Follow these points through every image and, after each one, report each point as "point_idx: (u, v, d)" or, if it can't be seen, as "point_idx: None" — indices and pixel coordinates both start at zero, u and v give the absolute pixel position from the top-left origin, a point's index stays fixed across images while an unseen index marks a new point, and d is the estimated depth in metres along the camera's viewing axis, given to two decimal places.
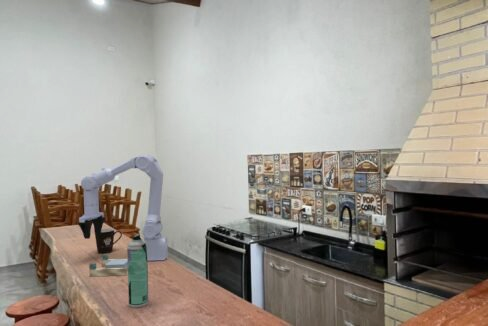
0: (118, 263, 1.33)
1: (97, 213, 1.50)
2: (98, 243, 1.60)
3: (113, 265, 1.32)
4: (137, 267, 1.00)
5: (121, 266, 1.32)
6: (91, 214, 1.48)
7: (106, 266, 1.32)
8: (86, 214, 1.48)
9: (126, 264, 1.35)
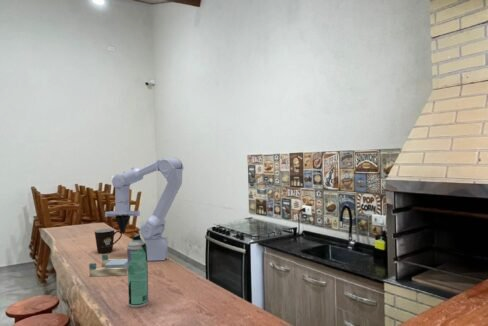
0: (118, 263, 1.33)
1: (119, 211, 1.52)
2: (98, 243, 1.60)
3: (113, 265, 1.32)
4: (137, 267, 1.00)
5: (121, 266, 1.32)
6: (115, 211, 1.53)
7: (106, 266, 1.32)
8: None
9: (126, 264, 1.34)
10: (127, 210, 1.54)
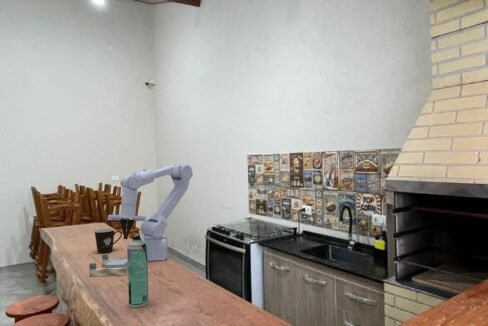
0: (118, 263, 1.33)
1: (127, 214, 1.39)
2: (98, 243, 1.60)
3: (113, 265, 1.32)
4: (137, 267, 1.00)
5: (121, 266, 1.32)
6: (121, 214, 1.40)
7: (106, 266, 1.32)
8: None
9: (126, 264, 1.34)
10: (134, 214, 1.42)
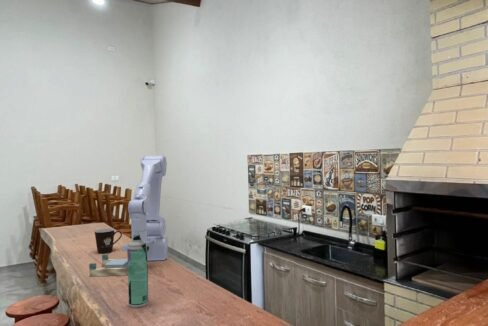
0: (118, 263, 1.33)
1: None
2: (98, 243, 1.60)
3: (113, 265, 1.32)
4: (137, 267, 1.00)
5: (120, 266, 1.32)
6: None
7: (106, 266, 1.32)
8: None
9: (126, 264, 1.34)
10: None
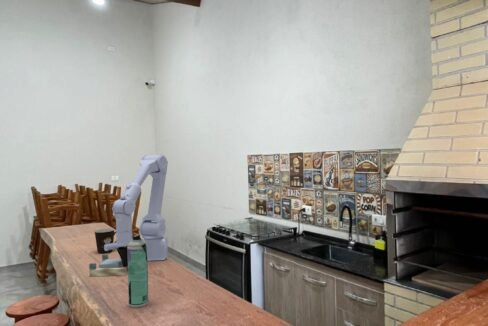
0: (112, 263, 1.33)
1: (126, 241, 1.33)
2: (98, 243, 1.60)
3: (107, 265, 1.32)
4: (137, 267, 1.00)
5: (114, 266, 1.32)
6: (119, 242, 1.33)
7: (100, 266, 1.32)
8: None
9: (120, 264, 1.35)
10: None
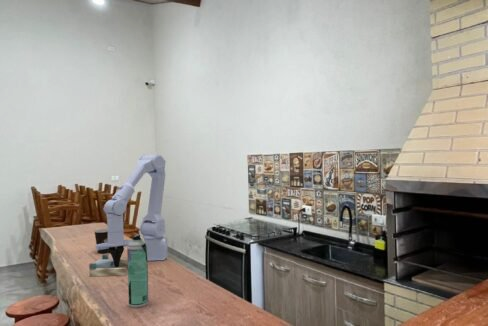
0: (104, 263, 1.34)
1: (116, 242, 1.32)
2: (98, 243, 1.60)
3: (99, 265, 1.32)
4: (137, 267, 1.00)
5: (107, 266, 1.32)
6: (109, 242, 1.33)
7: None
8: (108, 241, 1.34)
9: (112, 264, 1.35)
10: (123, 240, 1.35)
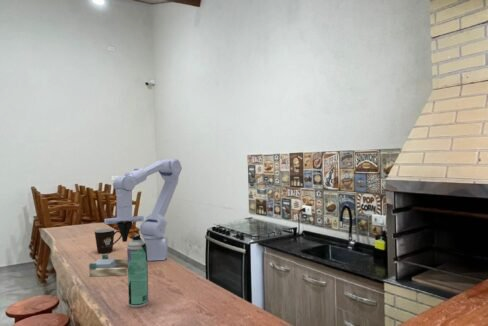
0: (104, 263, 1.34)
1: (125, 217, 1.36)
2: (98, 243, 1.60)
3: (99, 265, 1.32)
4: (137, 267, 1.00)
5: (107, 266, 1.33)
6: (118, 217, 1.36)
7: None
8: None
9: (112, 264, 1.35)
10: (131, 215, 1.38)
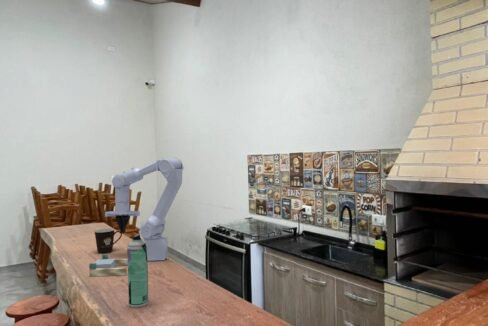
0: (104, 263, 1.34)
1: (119, 211, 1.52)
2: (98, 243, 1.60)
3: (100, 265, 1.32)
4: (137, 267, 1.00)
5: (108, 266, 1.33)
6: (115, 211, 1.53)
7: None
8: None
9: (112, 264, 1.36)
10: (127, 210, 1.54)
